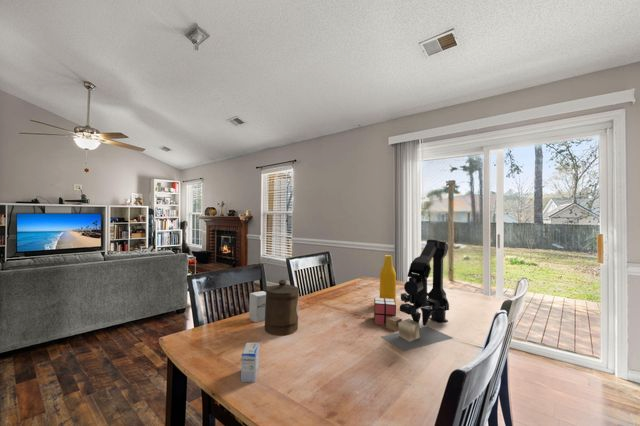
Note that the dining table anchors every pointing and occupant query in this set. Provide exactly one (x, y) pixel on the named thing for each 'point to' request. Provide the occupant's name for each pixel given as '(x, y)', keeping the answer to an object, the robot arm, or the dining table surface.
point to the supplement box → (257, 306)
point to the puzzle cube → (383, 309)
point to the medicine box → (250, 362)
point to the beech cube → (409, 330)
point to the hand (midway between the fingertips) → (420, 326)
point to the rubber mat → (426, 338)
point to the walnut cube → (393, 322)
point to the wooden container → (281, 309)
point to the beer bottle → (388, 279)
